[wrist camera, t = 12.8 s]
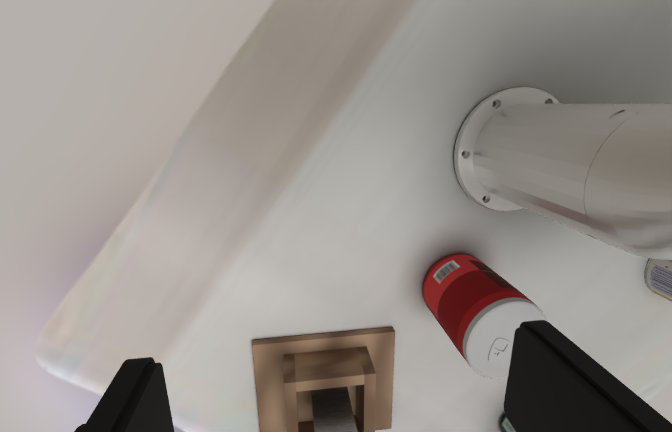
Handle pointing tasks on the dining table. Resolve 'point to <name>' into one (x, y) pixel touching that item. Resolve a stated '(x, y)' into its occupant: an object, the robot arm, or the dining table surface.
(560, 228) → the dining table surface
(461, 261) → the canned food
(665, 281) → the canned food
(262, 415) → the well block
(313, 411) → the grey boxy piece
